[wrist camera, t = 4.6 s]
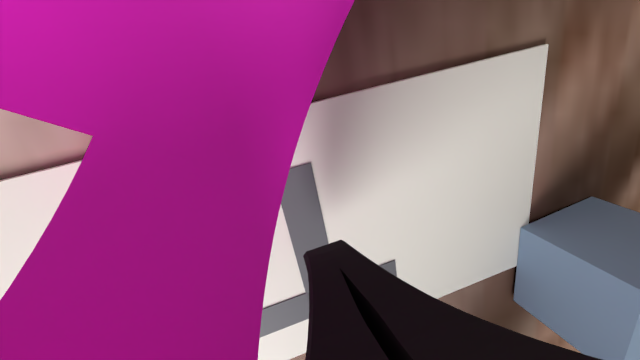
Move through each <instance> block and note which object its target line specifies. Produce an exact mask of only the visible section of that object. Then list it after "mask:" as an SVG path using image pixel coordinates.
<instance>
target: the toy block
mask: <svg viewBox="0 0 640 360" xmlns="http://www.w3.org/2000/svg"><path fill="white" fill-rule="evenodd" d="M353 2H354V0H0V109H4V110H7V111H10V112H14V113H17V114H21V115H24V116H27V117H31V118H34V119H38V120H41V121H44V122H48V123H51V124H55V125H58V126H61V127H65V128H68V129H71V130H75V131H78V132H82V133H85V134H88V135H92V136H93V137H92V140H91V142H90V144H89V146H88V148H87V151H86V153H85V155H84V157H83V159H82V162H81V164H80V166H79V168H78V170H77V172H76V174H75V176H74V178H73V180H72V182H71V184H70V186H69V188H68V190H67V192H66V193H65V195H64V197H63V199H62V201H61V203H60V204H59V206H58V208H57V210H56V212H55V214H54V215H53V217H52V219H51V221H50V222H49V224H48V226H47V228H46V229H45V231H44V233H43V234H42V236H41V238H40V239H39V241H38V243H37V244H36V246H35V248H34V249H33V251H32V253H31V254H30V256H29V257H28V259H27V260H26V262H25V264H24V265H23V267H22V268H21V270H20V271H19V273H18V274H17V276H16V277H15V279H14V281H13V282H12V284H11V285H10V287H9V288H8V290H7V291H6V293H5V294H4V295H3V297H2V298H1V300H0V360H258V350H259V339H260V327H261V318H262V309H263V301H264V293H265V286H266V279H267V273H268V266H269V260H270V254H271V249H272V243H273V238H274V233H275V228H276V223H277V219H278V214H279V210H280V205H281V201H282V197H283V193H284V189H285V185H286V181H287V178H288V174H289V170H290V167H291V163H292V160H293V156H294V153H295V150H296V146H297V143H298V140H299V137H300V134H301V131H302V128H303V125H304V122H305V119H306V116H307V113H308V110H309V107H310V105H311V102H312V99H313V96H314V94H315V91H316V88H317V86H318V83H319V81H320V78H321V75H322V73H323V70H324V68H325V66H326V63H327V61H328V58H329V56H330V54H331V51H332V49H333V46H334V44H335V42H336V40H337V37H338V35H339V33H340V31H341V28H342V26H343V24H344V22H345V19H346V17H347V15H348V13H349V11H350V9H351V7H352V5H353Z"/></svg>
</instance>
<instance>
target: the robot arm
mask: <svg viewBox="0 0 640 360" xmlns="http://www.w3.org/2000/svg"><path fill="white" fill-rule="evenodd" d="M303 258H304V262H305V265H306V269H307V273H308V282H309V323H308V339H307V350H306V358H305V360H603V359H599V358H595V357H591V356H588V355H584V354H581V353H578V352H575V351H571V350H568V349H565V348H562V347H559V346H555V345H552V344H549V343H546V342H543V341H540V340H537V339H534V338H531V337H528V336H525V335H522V334H520V333H517V332H514V331H512V330H509V329H506V328H504V327H501V326H498V325H496V324H493V323H490V322H488V321H485V320H482V319H480V318H477V317H475V316H473V315H470V314H468V313H466V312H463V311H461V310H459V309H457V308H455V307H453V306H450V305H448V304H446V303H444V302H442V301H440V300H438V299H436V298H434V297H432V296H430V295H428V294H426V293H424V292H423V291H421V290H419V289H417V288H415V287H413V286H412V285H410V284H408V283H406V282H405V281H403V280H401V279H400V278H398V277H396V276H395V275H393V274H391V273H390V272H388V271H387V270H385V269H384V268H382V267H380V266H379V265H377V264H376V263H374V262H373V261H371V260H370V259H368V258H367V257H366V256H364V255H363V254H361V253H360V252H358V251H357V250H356V249H354V248H353V247H352V246H350V245H349V244H348V243H346V242H345V241H343V240H338V241H335V242H332V243H330V244H327V245H324V246H321V247H318V248H315V249H312V250H309V251H306V252H305V254H304V255H303Z"/></svg>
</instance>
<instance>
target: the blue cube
mask: <svg viewBox="0 0 640 360" xmlns="http://www.w3.org/2000/svg"><path fill="white" fill-rule="evenodd" d="M513 300H514V301H515V302H516V303H517V304H519V305H520V306H521V307H523V308H524V309H525V310H527V311H528V312H529V313H530V314H532V315H533V316H534V317H536V318H537V319H538V320H540V321H541V322H542V323H543V324H545V325H546V326H547V327H549V328H550V329H551V330H553V331H554V332H555V333H556V334H558V335H559V336H560V337H562V338H563V339H564V340H566V341H567V342H568V343H570V344H571V345H572V346H573V347H575V348H576V349H577V350H579V351H580V352H581V353H583V354H584V355H588V356H591V357H595V358H599V359H603V360H640V213H639V212H636V211H633V210H630V209H627V208H624V207H621V206H618V205H615V204H613V203H610V202H607V201H604V200H601V199H598V198H595V197H589V198H587V199H585V200H583V201H580V202H578V203H576V204H573V205H571V206H569V207H567V208H564V209H562V210H560V211H557V212H555V213H553V214H551V215H548V216H546V217H544V218H541V219H539V220H537V221H535V222H532V223H530V224H528V225H525V226H523V227H521V229H520V239H519V249H518V259H517V269H516V279H515V289H514V299H513Z"/></svg>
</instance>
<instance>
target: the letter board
mask: <svg viewBox="0 0 640 360" xmlns="http://www.w3.org/2000/svg"><path fill="white" fill-rule="evenodd" d="M548 45H549V44H542V45H538V46H534V47H530V48H527V49H523V50H519V51H515V52H511V53H507V54H503V55H499V56H495V57H491V58H487V59H483V60H479V61H475V62H471V63H467V64H463V65H459V66H455V67H451V68H447V69H443V70H439V71H435V72H431V73H427V74H423V75H419V76H415V77H411V78H407V79H403V80H399V81H395V82H391V83H387V84H383V85H379V86H375V87H371V88H367V89H363V90H359V91H355V92H351V93H347V94H343V95H339V96H335V97H331V98H327V99H323V100H319V101H315V102H311V105H310V107H309V110H308V113H307V116H306V119H305V122H304V125H303V128H302V131H301V134H300V137H299V140H298V143H297V146H296V150H295V153H294V156H293V160H292V163H291V167H290V170H289V174H288V178H287V181H286V185H285V189H284V193H283V197H282V201H281V205H280V210H279V214H278V219H277V223H276V228H275V233H274V238H273V243H272V249H271V254H270V260H269V266H268V273H267V279H266V286H265V293H264V301H263V309H262V318H261V327H260V339H259V350H258V360H289V359H291V358H294V357H296V356H299V355H301V354H304V353H306V350H307V339H308V323H309V282H308V273H307V269H306V265H305V262H304V258H303V255H304V254H305V252H306V251H309V250H312V249H315V248H318V247H321V246H324V245H327V244H330V243H332V242H335V241H338V240H343V241H345V242H346V243H348V244H349V245H350V246H352V247H353V248H354V249H356V250H357V251H358V252H360V253H361V254H363V255H364V256H366V257H367V258H368V259H370V260H371V261H373V262H374V263H376V264H377V265H379V266H380V267H382V268H384V269H385V270H387V271H388V272H390V273H391V274H393V275H395V276H396V277H398V278H400V279H401V280H403V281H405V282H406V283H408V284H410V285H412V286H413V287H415V288H417V289H419V290H421V291H423V292H424V293H426V294H428V295H430V296H432V297H434V298H436V299H437V298H440V297H442V296H445V295H447V294H450V293H452V292H454V291H457V290H459V289H462V288H464V287H467V286H469V285H471V284H474V283H476V282H479V281H481V280H484V279H486V278H488V277H491V276H493V275H496V274H498V273H501V272H503V271H505V270H508V269H510V268H513V267H515V266H517V259H518V249H519V239H520V229H521V227H523V226H525V225H528V224H529V216H530V207H531V198H532V189H533V180H534V171H535V162H536V153H537V144H538V135H539V126H540V117H541V108H542V99H543V90H544V81H545V72H546V63H547V54H548ZM81 162H82V160H79V161H75V162H71V163H67V164H63V165H59V166H55V167H51V168H47V169H43V170H39V171H35V172H31V173H27V174H23V175H19V176H15V177H11V178H7V179H3V180H0V300H1V298H2V297H3V295H4V294H5V293H6V291H7V290H8V288H9V287H10V285H11V284H12V282H13V281H14V279H15V277H16V276H17V274H18V273H19V271H20V270H21V268H22V267H23V265H24V264H25V262H26V260H27V259H28V257H29V256H30V254H31V253H32V251H33V249H34V248H35V246H36V244H37V243H38V241H39V239H40V238H41V236H42V234H43V233H44V231H45V229H46V228H47V226H48V224H49V222H50V221H51V219H52V217H53V215H54V214H55V212H56V210H57V208H58V206H59V204H60V203H61V201H62V199H63V197H64V195H65V193H66V192H67V190H68V188H69V186H70V184H71V182H72V180H73V178H74V176H75V174H76V172H77V170H78V168H79V166H80V164H81Z"/></svg>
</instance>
